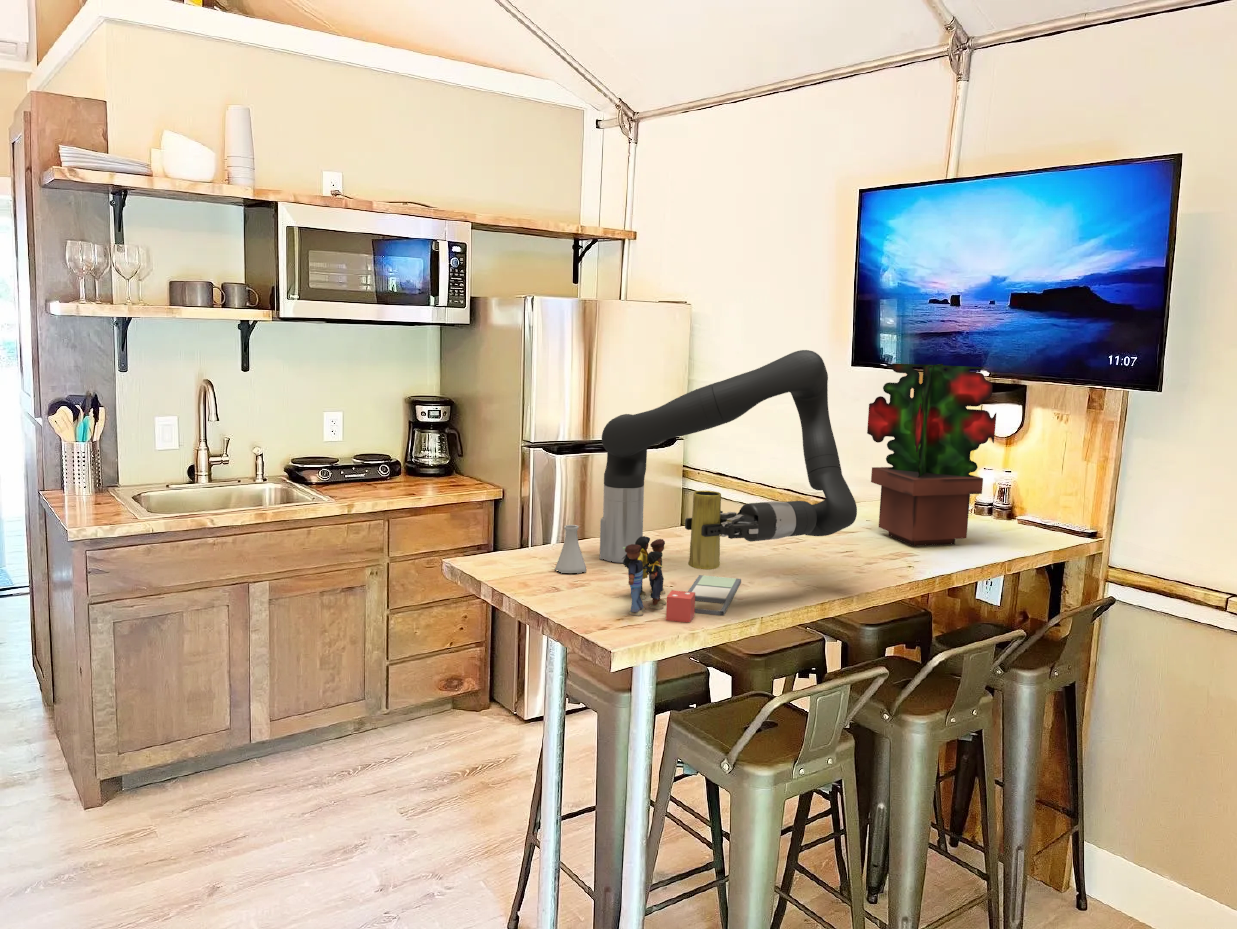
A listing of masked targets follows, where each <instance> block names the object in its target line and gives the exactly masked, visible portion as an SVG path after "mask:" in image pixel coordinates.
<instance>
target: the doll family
mask: <svg viewBox="0 0 1237 929" xmlns="http://www.w3.org/2000/svg"><path fill="white" fill-rule="evenodd" d="M650 541H651V538H650V537H649V536H646V535H644V536H643V537H642V536H641V537H639V538H638V539H637V540H636V542H635V544H631V545H628V546H626V548H625V547H623V549H625V552H626V553H627V554H626V555H625V556H624V557H623V558H622V559H624V558H625V559H624V561H623V563H622V564H623V565H624V568H626V569H627V571H628V573H627V574H628V575H627V576H628V585H629V587H630V597H631V606H630V611H629V612H628V615H631V616H638V617H640V616H643V615H644V612H646V611H647V610H646V608H645V606H644V603H643V600H646V599H647V593H646V592H645V591H644V589H643V588H644V587H643V584H644V583H643V580H645V579H647V578H648V581H649V585H650V591H651V594H649V595H650V596H649V598H650V599H652V600H651V602H652V603H651V604H650V605H649V608H650V609H652V610H663V609H664V606H663V605H667V600H666V599H663V598H661V596H664V595H666V591H665V590H664V580H665V579H664V575H663V572H662V571H663V570H662V568H664V567H665V566H664V565H663V559H662V557H663V552H664V550H665V544H666V543H665V542H666V541H665V540H664V539H662V538H657V539H655V540H653V541H652V542H650ZM649 543H650V548H651V549H652V551H650V552H648V549H649Z"/></svg>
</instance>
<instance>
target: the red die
mask: <svg viewBox="0 0 1237 929" xmlns="http://www.w3.org/2000/svg"><path fill="white" fill-rule="evenodd" d="M695 608H696V601H695V592H688V591H683V590H671V591H670V592H669V593H668V595H667V596H666V610H665V612H666V613H665V620H666V621H671V622H680V623H688V622H690V623H691V622H692V620H693V619H694V617H695V614H696V613H695Z"/></svg>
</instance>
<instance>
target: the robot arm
mask: <svg viewBox="0 0 1237 929" xmlns="http://www.w3.org/2000/svg"><path fill="white" fill-rule="evenodd" d="M828 382H829V374H828V371H827V368H826V364H825V362H824V360H823V358H822V356H820V354H819V353H817V352H815V351H814V350H808V349H800V350H797V351H793V352H791V353H789V354H787V355H784V356H782V357H780V358H777V359H776V360H774V361H772V362H770V363H767V364H765V365H762V366H759V367H758V368H756V369H753V370H749V371H747V372H743V373H741V374H738V375H735V376H733V377H728V378H725V379H723V380H720V381H717V382H714V383H710V384H708V385H705V386H702V387H699V388H696V389H694V390H691V391H689V392H686V393H685V394H683V395H680V396H678V397H676V398H674V399H672V400H670V401H668V402H667V403H665V404H663V405H661V406H657V407H656V408H653V409H651V410H650V409H649V410H646V411H643V412H638V413H635V414H632V413H631V414H630V413H625V414H620V415H618V416H615V417H614V418H612V419H611V420H609V421H608V422H607V423H606V425H605V426H604V427H603V430H602V434H601V443H602V446H603V448H604V449H605V451H607V454H606V464H605V465H606V466H605V470H604V473H603V508H602V511H603V512H602V514H603V516H602V517H601V518H600V520H599V521H600V525H599V526H600V528H599V531H600V532H599V533H600V534H599V560H603V559H604V560H605V561H608V562H611V561H612V562H611V563H622V564H623V561H624V559H625V558H624V559H622V558H623V557H624V556H625V555H626V554H627V553H626V552H625V549H623V547H625V548H626V546H628V545H631V544H635V542H636V540H637V539H638V538H639V537H641V536H642V537H643V535H644V502H645V501H644V498H645V476H646V473H647V472H646V471H647V456H648V455H647V454H648V448H650V447H651V446H654V445H656V444H659V443H661V442H663V441H667V440H669V439H674V438H678V437H683V436H687V435H691V434H695V433H699V432H700V433H701V432H703V431H706V430H709V429H713V428H716V427H719V426H722V425H725V424H728V423H730V422H732V421H735V420H737V419H738V418H740V417H741V416H744V414H746V413H747V412H749V411H750V410H751V409H752V408H754V407H756V406H757V405H758V404H760V403H761V402H764V401H765V400H767V399H770V398H773V397H777V396H781V395H783V394H787V393H790V395H791V397H792V400H793V402H794V404H795V406H796V410H797V413H798V416H799V421H800V425H801V426H800V428H801V434H802V435H801V436H802V450H803V451H802V452H803V458H804V464H805V468H806V474H807V480H808V482H809V486H810V488H812V489H813V490H815V491H820V492H821V491H822V492H823V494H824V497H825V499H823V500H822V501H819V502H817V503H814V504H811V503H810V502H808V501H805V500H790V501H776V500H775V501H763V502H751V503H750V502H749V503H745V504H743V505H742V506H741V507H740V509H739V511H738V512H736V511H727V512H724V511H723V510H720V524H719V523H717V524H706V525H702V529H701V535H702V536H704V537H710V536H720V537H722V538H725V537H727V538H728V539H730V540H733V539H744V540H745V541H747V542H751V543H752V542H760V541H769V540H770V541H771V540H778V539H779V540H781V539H784V538H787V537H797V536H798V537H799V536H809V537H811V536H812V537H826V536H830V535H833V534H836V533H838V532H839V531H842V530H844V529H846V528H848V527H851V526H852V525H853V524H854V523H855V521H856V518H857V515H858V514H857V513H858V507H857V502H856V500H855V498H854V496H853V493H852V492H851V489H850V488H849V485H848V483H847V481H846V480H845V478H844V476H843V471H842V466H841V462H840V456H839V451H838V446H837V444H836V440H835V436H834V433H833V427H832V423H831V419H830V412H829V400H828V399H829V397H828V396H829V395H828V392H829V390H828V388H829V387H828V386H829V385H828ZM691 526H692V517H686V518H685V519H684V528H685V529H686V530H687V531H691ZM604 560H603V561H604Z"/></svg>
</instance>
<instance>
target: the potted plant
mask: <svg viewBox="0 0 1237 929" xmlns="http://www.w3.org/2000/svg"><path fill="white" fill-rule="evenodd" d="M914 367H922V379H921V380H922V382H921V383H920V372H919V371H918V370H917V369H914ZM891 368H892V371H893V372H894V373H897V374H906V375H904V376H902V377H900V378H899V380H898V382H886V383H884V385H883V386H882V389H883V392H884V393H886V394H888V395H889V402H887V400H886V397H884V396H877V397H876V398H875V399H874V401H873V402H870V403H868V415H867V416H868V417H867V427H866V428H867V431H866V434H867V435H869V436H871V438H872V441H874V442H875V443H882V442H883V441H884V439H885V438H886V437H889V438H894V439H890V440H889V441H887V443H886V448H887V449H888V450H889V451H891V452H893V453H889V454H887V455H886V458H885V461H886V463H887V464H888V465H890V466H881V467H878V466H877V467H871V478H870V483H873V484H875V485H878V486H881V487H880V502H879V514H878V515H879V516H878V528H880V529H882V530H883V531H884V530H885V531H887V532H888V537H890V538H893V539H896V540H897V541H901V542H902V543H904V544H908V545H910V546H912V547H927V546H945V545H946V546H950V545H955V541H956V540H957V539H960V540H961V539H967V536H968V533H967V532H968V522H969V510H970V500H971V498H970V497H971V495H979V494H980V495H982V494H983V484H984V478H983V477H980V476H976V475H972V474H970V473H974V472H976V471H977V469H978V464H977V463H976V462H975V461H973V460H971V452H973V451H977V450H978V449H979V447H980V446H981V445H984V444H986V443H987V442H988V440H989V439H991V442H992V443H993V444H994V443H995V436H996V435H995V433H996V424H997V412H995V413H994V414H993V416H992V417H991V415H990V412H989V411H987V410H985V409H976V408H975V409H973V408H972V409H971V408H967V407H980V406H981V405H982V404H983V402H984V401H985V400H989V399H990V398H991V397H992V395H993V388H994V386H993V382H991V381H990V380H987V379H986V377H985V375H984V374H983V373H982V372H978V371H976V372H975V371H970V370H982V369H984V366H963V365H944V363H938V364H921V363H920V364H917V363H916V364H915V363H896V362H895V363H893V362H892V363H891ZM945 369H946V370H945ZM911 389H913V396H912V397H911V392H912V391H911Z"/></svg>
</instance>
